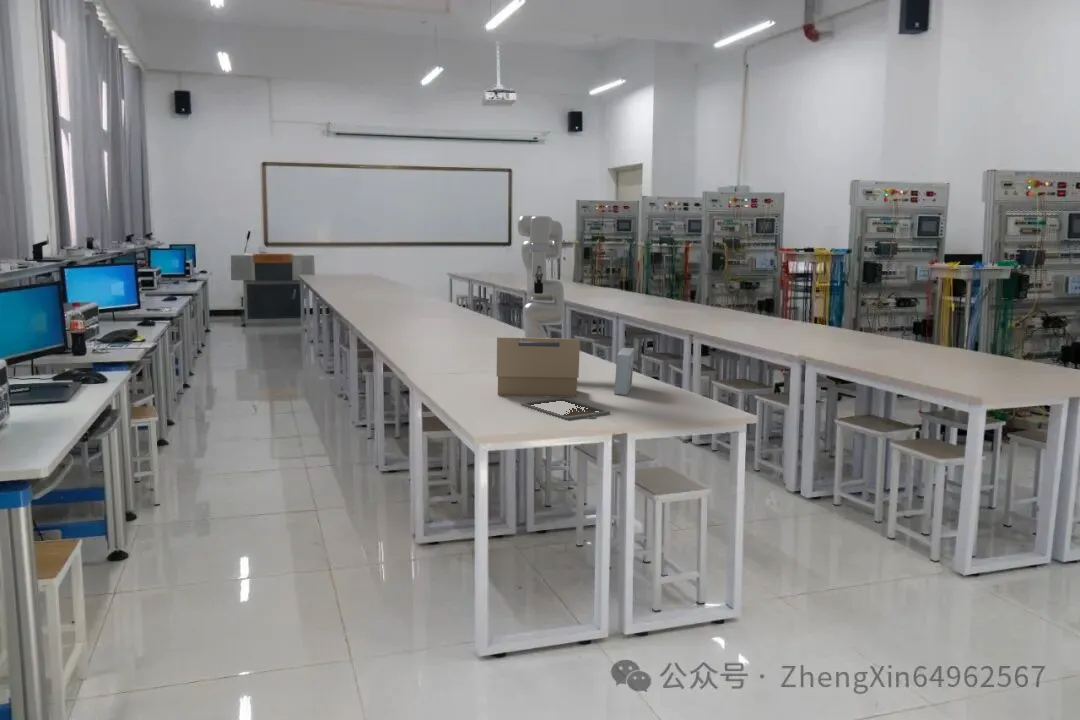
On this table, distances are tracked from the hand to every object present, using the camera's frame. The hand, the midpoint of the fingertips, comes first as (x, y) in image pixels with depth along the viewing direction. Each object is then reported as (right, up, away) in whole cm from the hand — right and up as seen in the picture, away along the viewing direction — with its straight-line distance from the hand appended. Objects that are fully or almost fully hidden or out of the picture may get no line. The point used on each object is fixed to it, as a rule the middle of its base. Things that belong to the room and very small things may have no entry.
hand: (538, 292), depth 335 cm
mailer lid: (0, -25, -13) cm, 28 cm away
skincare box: (+34, -39, +7) cm, 52 cm away
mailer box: (-1, -39, -3) cm, 39 cm away
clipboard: (+10, -45, -33) cm, 57 cm away
